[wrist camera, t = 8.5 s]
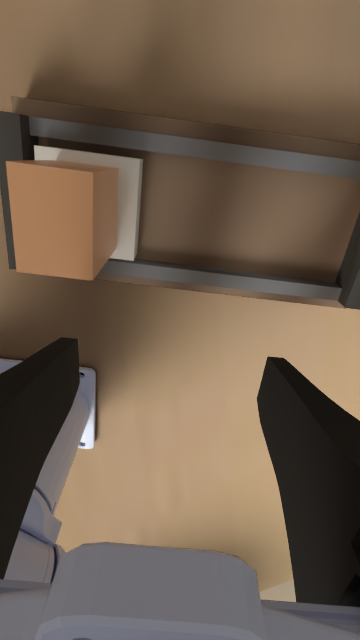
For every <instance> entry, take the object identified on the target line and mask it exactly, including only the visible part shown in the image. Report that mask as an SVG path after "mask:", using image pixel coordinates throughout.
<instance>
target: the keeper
mask: <svg viewBox="0 0 360 640" xmlns="http://www.w3.org/2000/svg"><path fill="white" fill-rule="evenodd" d="M34 155H35V160H26V161H6V169H7V179H8V190H9V200H10V210H11V220H12V230H13V240H14V250H15V260H16V270H17V272H22V273H31V274H39V275H48V276H56V277H65V278H73V279H82V280H91V281H93V279H94V278H95V277H96V275H97V274H98V273H99V271H100V270H101V269H102V267H103V266H104V265H105V263H106V262H107V261H108V259H109V258H114V259H123V260H131V261H134V259H135V257H136V255H137V249H138V234H139V218H140V203H141V187H142V172H143V159H139V158H131V157H124V156H116V155H108V154H101V153H93V152H86V151H78V150H71V149H63V148H56V147H48V146H37V145H34Z"/></svg>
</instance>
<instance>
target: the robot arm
mask: <svg viewBox="0 0 360 640" xmlns="http://www.w3.org/2000/svg"><path fill="white" fill-rule="evenodd" d="M80 372H81V373H84V375H81V374H80ZM95 402H96V373H95V371H94V370H93V369H92V368H86V367H79V356H78V339H73V338H62V337H61V338H60V339H58V340H56V341H54V342H53V343H51V344H49V345H48V346H46V347H45V348H43V349H42V350H40V351H38V352H37V353H35V354H34V355H32V356H30V357H29V358H27V359H25V360H24V361H20V360H10V359H1V358H0V640H360V421H359V420H358V419H356V418H355V417H353V416H352V415H350V414H349V413H348V412H346V411H345V410H344V409H342V408H341V407H340V406H339V405H337V404H336V403H335V402H333V401H332V400H331V399H330V398H328V397H327V396H326V395H325V394H324V393H322V392H321V391H320V390H319V389H318V388H317V387H316V386H314V385H313V384H312V383H311V382H310V381H309V380H308V379H307V378H306V377H304V376H303V375H302V374H301V373H300V372H299V371H298V370H297V369H296V368H295V367H294V366H292V365H291V364H290V363H289V362H288V361H287V360H285V359H284V358H278V357H267V361H266V365H265V369H264V373H263V377H262V381H261V385H260V389H259V393H258V397H257V403H258V411H259V417H260V423H261V426H262V430H263V434H264V437H265V440H266V444H267V447H268V451H269V454H270V457H271V461H272V464H273V467H274V471H275V474H276V478H277V482H278V486H279V491H280V496H281V502H282V507H283V512H284V518H285V524H286V530H287V537H288V543H289V550H290V557H291V564H292V571H293V578H294V586H295V595H296V602H285V601H271V600H260V594H259V588H258V582H257V575H256V571H255V570H254V569H253V568H251V567H250V566H249V565H248V564H246V563H245V562H244V561H243V560H241V559H240V558H239V557H237V556H234V555H230V554H226V553H222V552H218V551H209V550H197V549H185V548H172V547H160V546H148V545H135V544H123V543H110V542H101V543H88V544H82V545H80V546H78V547H76V548H75V549H73V550H71V551H69V552H67V553H66V552H65V550H64V549H63V548H62V547H61V546H60V545H57V544H55V543H56V540H57V537H58V534H59V531H60V528H61V525H62V522H61V521H59V520H58V519H56V518H55V517H54V516H53V515H54V512H55V509H56V507H57V504H58V501H59V498H60V496H61V493H62V490H63V487H64V485H65V482H66V479H67V476H68V474H69V471H70V468H71V466H72V463H73V460H74V457H75V455H76V452H77V449H78V448H86V449H91V448H93V447H94V444H95ZM82 442H84V443H82Z"/></svg>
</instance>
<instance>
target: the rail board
mask: <svg viewBox="0 0 360 640" xmlns="http://www.w3.org/2000/svg"><path fill="white" fill-rule="evenodd" d="M11 100H12V112H13V113H10V112H3V111H0V187H1V196H2V205H3V214H4V224H5V233H6V242H7V251H8V260H9V269H16V260H15V250H14V240H13V230H12V220H11V210H10V200H9V190H8V179H7V169H6V161H26V160H35V155H34V145H37V146H48V147H56V148H63V149H71V150H78V151H86V152H93V153H101V154H108V155H116V156H124V157H131V158H139V159H143V172H142V187H141V203H140V218H139V234H138V249H137V255H136V257H135V259H134V261H131V260H123V259H114V258H109V259H108V261H107V262H106V263H105V265H104V266H103V267H102V269H101V270H100V271H99V273H98V274H97V275H96V277H95V278H94V279H97V280H105V281H114V282H122V283H131V284H140V285H148V286H157V287H165V288H174V289H182V290H191V291H199V292H208V293H217V294H225V295H234V296H242V297H251V298H259V299H268V300H277V301H285V302H294V303H302V304H311V305H319V306H328V307H337V308H351V309H360V144H353V143H346V142H339V141H331V140H324V139H317V138H310V137H302V136H295V135H288V134H281V133H274V132H266V131H259V130H252V129H245V128H237V127H230V126H223V125H216V124H209V123H201V122H194V121H187V120H180V119H172V118H165V117H158V116H151V115H144V114H136V113H129V112H122V111H115V110H107V109H100V108H93V107H86V106H79V105H71V104H64V103H57V102H50V101H42V100H35V99H28V98H21V97H14V96H11Z"/></svg>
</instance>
